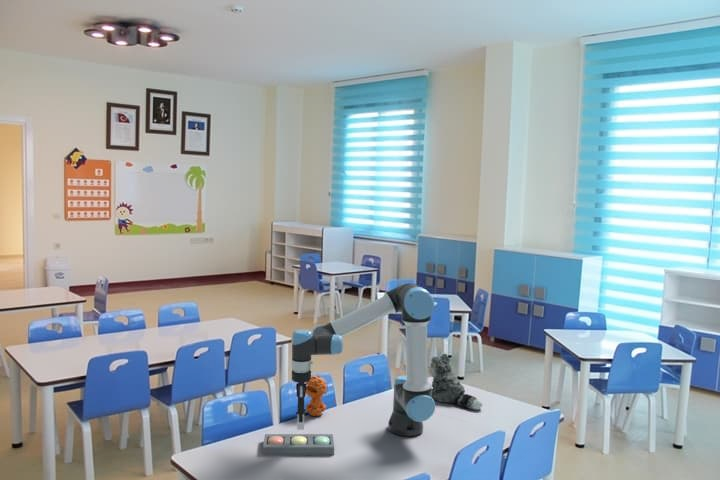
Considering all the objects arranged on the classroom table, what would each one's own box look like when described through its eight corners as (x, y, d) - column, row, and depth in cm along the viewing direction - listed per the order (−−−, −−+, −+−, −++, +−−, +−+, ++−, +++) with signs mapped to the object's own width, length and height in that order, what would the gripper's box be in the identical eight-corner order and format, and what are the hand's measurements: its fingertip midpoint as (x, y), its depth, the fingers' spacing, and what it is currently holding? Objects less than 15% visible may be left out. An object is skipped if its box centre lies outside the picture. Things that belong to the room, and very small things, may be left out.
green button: (329, 449, 229) (329, 442, 228) (314, 449, 228) (314, 442, 228) (328, 442, 234) (329, 436, 234) (313, 442, 234) (314, 436, 234)
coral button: (283, 449, 227) (283, 442, 226) (267, 449, 226) (267, 442, 226) (283, 442, 233) (283, 436, 232) (268, 442, 232) (268, 436, 232)
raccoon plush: (432, 389, 307) (434, 349, 305) (490, 402, 291) (492, 361, 289) (419, 397, 294) (421, 355, 292) (479, 411, 278) (482, 368, 276)
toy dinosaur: (302, 408, 271) (304, 370, 270) (326, 409, 272) (327, 371, 271) (302, 418, 260) (303, 378, 259) (327, 418, 261) (328, 379, 260)
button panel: (334, 454, 226) (334, 447, 226) (262, 454, 223) (262, 447, 223) (332, 441, 238) (332, 434, 237) (264, 441, 235) (264, 434, 235)
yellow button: (306, 449, 228) (306, 442, 227) (290, 449, 227) (291, 442, 227) (306, 442, 234) (306, 436, 233) (291, 442, 233) (291, 436, 233)
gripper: (311, 375, 222) (310, 435, 224) (310, 364, 234) (309, 422, 237) (291, 375, 221) (290, 436, 223) (292, 365, 234) (291, 422, 236)
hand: (300, 428), depth 230 cm, fingers closed
